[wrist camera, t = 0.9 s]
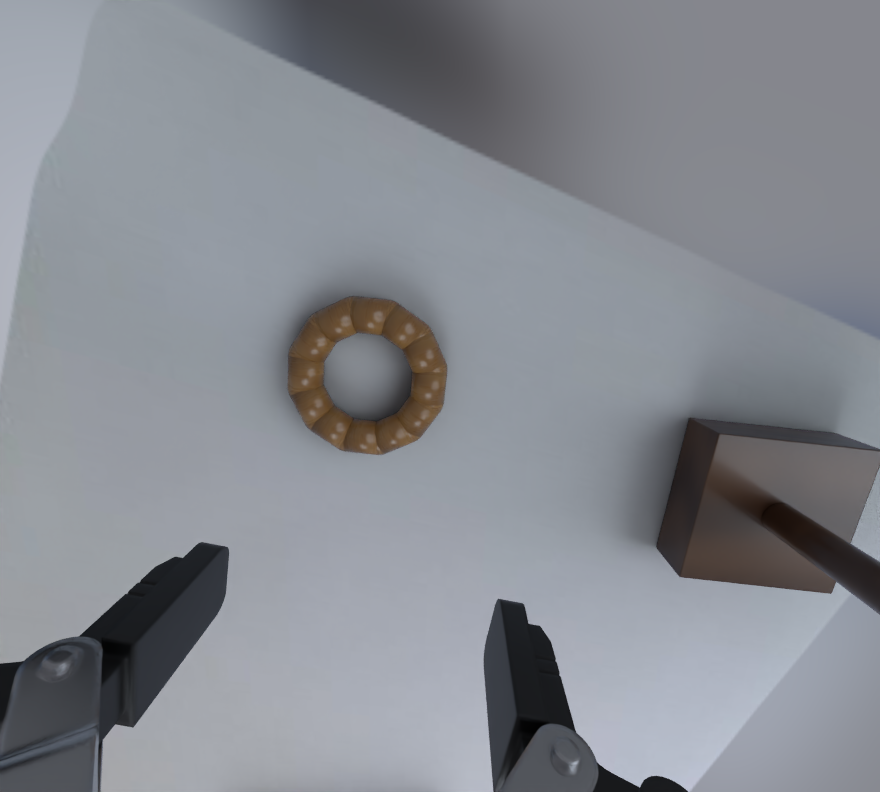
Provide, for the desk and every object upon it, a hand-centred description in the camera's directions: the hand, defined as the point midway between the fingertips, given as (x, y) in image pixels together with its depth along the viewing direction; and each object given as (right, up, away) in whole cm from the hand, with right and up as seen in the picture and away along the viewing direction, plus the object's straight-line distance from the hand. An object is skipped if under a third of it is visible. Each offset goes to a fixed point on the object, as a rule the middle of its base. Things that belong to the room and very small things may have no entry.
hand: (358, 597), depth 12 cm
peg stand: (+22, 0, +14) cm, 26 cm away
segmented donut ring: (-2, +7, +12) cm, 14 cm away
